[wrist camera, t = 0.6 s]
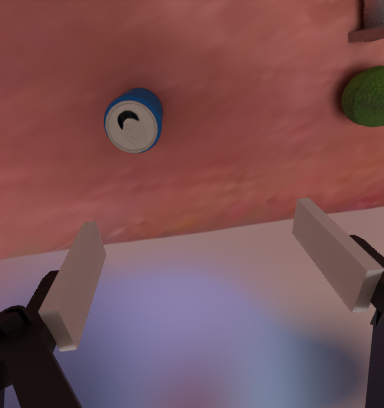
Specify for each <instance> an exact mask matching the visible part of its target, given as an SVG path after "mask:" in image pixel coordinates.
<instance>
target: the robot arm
mask: <svg viewBox="0 0 384 408" xmlns="http://www.w3.org/2000/svg"><path fill="white" fill-rule="evenodd" d="M292 233H293V235H294V236H295V237H296V239H297V240H298V241H299V243H300V244H301V245H302V247H303V248H304V249H305V251H306V252H307V253H308V255H309V256H310V257H311V259H312V260H313V261H314V263H315V264H316V265H317V267H318V268H319V269H320V271H321V272H322V274H323V275H324V276H325V278H326V279H327V280H328V282H329V283H330V284H331V286H332V287H333V288H334V289H335V291H336V292H337V293H338V295H339V296H340V298H341V299H342V300H343V302H344V303H345V304H346V306H347V307H348V308H349V310H350V311H351V312H352V313H355V312H363V311H367V310H368V308H369V305H370V303H372V304H373V305H374V307H375V308H376V311H375V314H374V316H373V318H372V320H371V323H370V324H371V325H373V333H372V344H371V354H370V363H369V373H368V383H367V384H368V385H367V394H366V404H365V408H384V257H383V256H382V255H381V254H379V253H377V251H376V250H375V249H374V248H372V247H371V245H369V244H368V243H367V242H366V241H365V240H364V239H362V238H360V237H358V236H356V235H348V234H347V233H346V232H345V231H343V230H342V229H341V228H340V227H339V226H338V225H337V224H336V223H335V222H334V221H333V220H332V219H331V218H330V217H329V216H327V215H326V214H325V213H324V212H323V211H322V210H321V209H320V208H319V207H318V206H317V205H316V204H315V203H314V202H313V201H312V200H311V199H309V198H301V199H297V204H296V211H295V217H294V225H293V231H292ZM105 257H106V252H105V249H104V245H103V242H102V239H101V236H100V232H99V229H98V226H97V223H96V221H93V222H84V223H83V225H82V227H81V229H80V231H79V233H78V235H77V237H76V239H75V241H74V243H73V245H72V247H71V249H70V250H69V252H68V254H67V256H66V259H65V261H64V262H63V264H62V266H61V268H60V270H56V271H50V272H49V273H48V274H47V275H46V276H45V277H44V278H43V279H42V281H41V282H40V284H39V286H38V289H36V291H35V293H34V295H33V296H32V298H31V300H30V302H29V304H28V305H27V307H26V308H25V307H24V306H20V305H17V306H12V307H9V308H7V309H5V310H3V311H2V312H0V408H4V394H5V392H4V391H5V388H6V387H8V386H10V385H12V384H13V387H14V390H15V392H16V395H17V398H18V401H19V404H20V406H21V408H82V406H81V404H80V402H79V401H78V399H77V397H76V395H75V393H74V392H73V389H72V388H71V386H70V384H69V382H68V380H67V378H66V377H65V375H64V373H63V371H62V369H61V367H60V365H59V364H58V362H57V360H56V358H55V356H54V354H53V351H54V348H55V346H56V345H57V346H58V348H59V350H60V351H68V350H75V349H78V345H79V342H80V339H81V335H82V332H83V329H84V326H85V322H86V319H87V316H88V313H89V309H90V306H91V303H92V300H93V296H94V293H95V290H96V286H97V283H98V280H99V277H100V274H101V270H102V267H103V264H104V261H105Z"/></svg>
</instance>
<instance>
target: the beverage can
mask: <svg viewBox="0 0 384 408" xmlns="http://www.w3.org/2000/svg"><path fill="white" fill-rule="evenodd" d="M162 116H163V110H162V105H161V103H160V101H159V99H158V98H157V96H156V95H155V94H154V93H152V92H151V91H149V90H147V89H144V88H134V89H131V90H129V91H127V92H126V93H124V94H123V95H121V96H120V97H118V98H117V99H115V100H114V101H113V102H112V103H111V104H110V105H109V106H108V108H107V110H106V112H105V116H104V128H105V131H106V134H107V136H108V138H109V139H110V141H111V142H112V143H113V144H114V145H115V146H116V147H118V148H119V149H121V150H123V151H125V152H129V153H141V152H145V151H147V150H149V149H151V148H152V147H153V146H154V145H155V144H156V143H157V141H158V139H159V137H160V134H161V129H162Z"/></svg>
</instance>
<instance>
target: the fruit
mask: <svg viewBox="0 0 384 408" xmlns="http://www.w3.org/2000/svg"><path fill="white" fill-rule="evenodd" d="M341 106H342V109H343V112H344V114H345V115H346V116H347V117H348V118H349V119H350V120H351V121H352V122H354V123H356V124H358V125H363V126H367V127H378V126H384V66H376V67H372V68H369V69H367V70H364V71H362V72H360V73H358V74H357V75H356V76H354V77H353V78H352V79H351V80H350V82H349V83H348V84H347V86H346V88H345V89H344V92H343V95H342V98H341Z"/></svg>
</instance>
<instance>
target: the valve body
mask: <svg viewBox="0 0 384 408" xmlns="http://www.w3.org/2000/svg"><path fill="white" fill-rule="evenodd" d="M383 38H384V0H364V27H363V28H360V29H358V30H355V31H353V32H350V33H348V40H349V43H350V42H358V41H364V42H369V41H374V40H379V39H383Z"/></svg>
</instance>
